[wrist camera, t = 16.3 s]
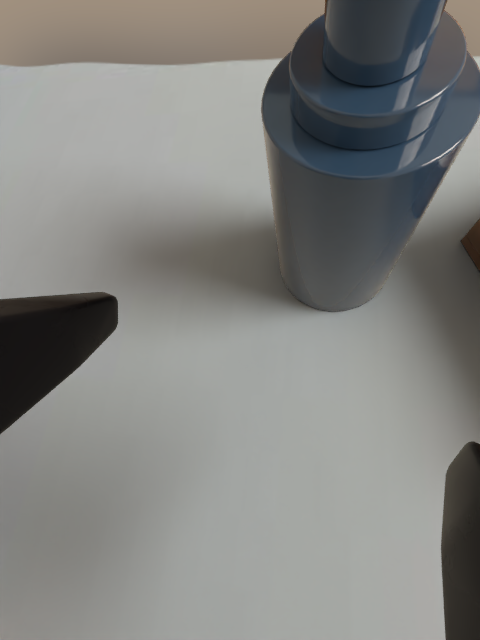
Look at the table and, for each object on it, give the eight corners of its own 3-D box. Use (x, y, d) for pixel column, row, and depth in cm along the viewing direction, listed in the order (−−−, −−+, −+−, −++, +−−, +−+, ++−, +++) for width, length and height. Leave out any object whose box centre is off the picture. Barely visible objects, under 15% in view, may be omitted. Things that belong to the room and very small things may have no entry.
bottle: (318, 332, 17) (378, 20, 4) (260, 251, 19) (179, -128, 6) (413, 274, 17) (756, -204, 4) (345, 199, 19) (440, -277, 6)
